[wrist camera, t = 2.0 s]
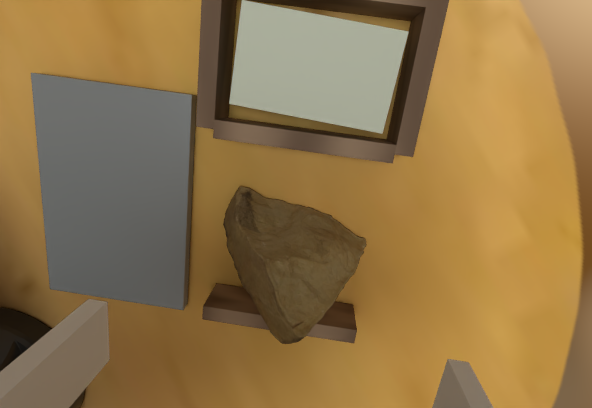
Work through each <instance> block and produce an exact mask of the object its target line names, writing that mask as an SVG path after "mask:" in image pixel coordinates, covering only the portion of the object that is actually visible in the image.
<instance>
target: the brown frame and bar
mask: <svg viewBox="0 0 592 408" xmlns="http://www.w3.org/2000/svg"><path fill="white" fill-rule="evenodd" d="M250 1H258V2H265V3H273V4H281V5H289V6H297V7H305V8H313V9H320V10H328V11H336V12H344V13H352V14H360V15H368V16H375V17H383V18H391V19H399V20H407V21H411V24H410V29H409V34H408V39H407V44H406V48H405V53H404V58H403V63H402V68H401V73H400V78H399V83H398V87H397V92H396V97H395V102H394V107H393V112H392V117H391V122H390V126H389V131H388V136H387V140H386V139H379V138H371V137H364V136H357V135H350V134H343V133H335V132H328V131H321V130H314V129H307V128H299V127H292V126H285V125H278V124H271V123H264V122H256V121H249V120H242V119H235V118H228V114H229V100H230V86H231V72H232V58H233V44H234V30H235V16H236V2H237V0H202V5H201V27H200V50H199V72H198V94H197V117H196V127H203V128H210V129H214V134H213V138H216V139H223V140H230V141H237V142H244V143H252V144H259V145H266V146H273V147H280V148H287V149H294V150H301V151H308V152H315V153H322V154H329V155H336V156H344V157H351V158H358V159H365V160H372V161H379V162H386V163H393V159H394V155H403V156H410V157H413V155H414V150H415V146H416V142H417V137H418V133H419V129H420V124H421V120H422V116H423V111H424V107H425V103H426V98H427V94H428V90H429V85H430V81H431V77H432V72H433V68H434V64H435V59H436V55H437V51H438V46H439V42H440V38H441V33H442V29H443V25H444V20H445V16H446V12H447V7H448V3H449V0H250ZM202 319H204V320H211V321H217V322H223V323H229V324H236V325H242V326H248V327H254V328H261V329H267V330H269V328H268V326H267V324H266V323H265V321H264V320H263V318H262V316H261V315H260V313H259V311H258V309H257V307H256V306H255V304H254V302H253V300H252V297H251V295H250V294H249V293H248V292H247V290H246V289H245V288H243V287H236V286H230V285H223V284H217V283H216V285H215V287H214V289H213V290H212V292H211V294H210V295H209V297H208V299H207V300H206V302H205V304H204V306H203V318H202ZM356 332H357V328H356V321H355V315H354V308H353V305H352V304H346V303H339V302H334V303H333V305H332V306H331V307H330V308H329V309H328V310H327V311H326V312H325V314H324V316H323V318H322V319H321V320H319V321H318V322H317V323H316V324H315V326H314V327H313V328H312V329H311V330H310V332H309V333H308V335H307V336H311V337H317V338H324V339H330V340H336V341H342V342H349V343H354V341H355V337H356Z"/></svg>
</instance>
